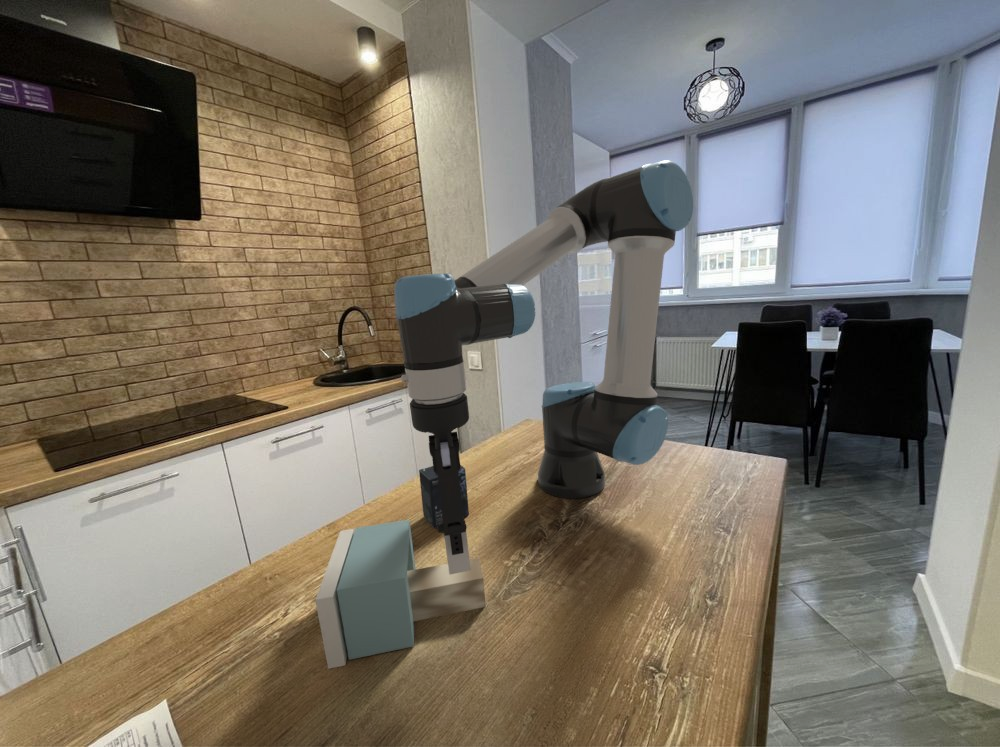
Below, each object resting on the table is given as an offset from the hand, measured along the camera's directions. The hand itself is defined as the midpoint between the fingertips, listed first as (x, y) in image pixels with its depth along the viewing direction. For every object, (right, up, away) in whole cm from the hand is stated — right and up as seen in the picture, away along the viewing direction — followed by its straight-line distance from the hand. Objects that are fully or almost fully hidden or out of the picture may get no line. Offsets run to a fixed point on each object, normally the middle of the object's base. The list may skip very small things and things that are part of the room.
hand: (456, 537), depth 56 cm
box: (-5, -6, +24) cm, 25 cm away
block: (-10, -11, 0) cm, 15 cm away
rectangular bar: (-4, -11, +1) cm, 11 cm away
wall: (-15, -11, -1) cm, 19 cm away
